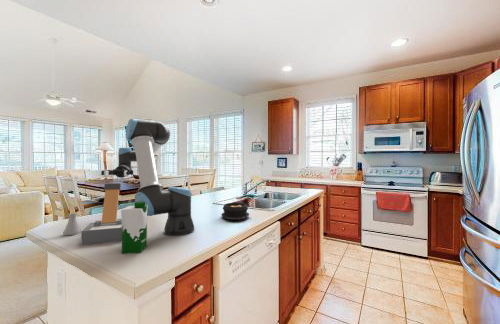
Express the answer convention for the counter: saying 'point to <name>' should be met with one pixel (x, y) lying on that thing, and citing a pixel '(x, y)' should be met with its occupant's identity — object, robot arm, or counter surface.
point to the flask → (72, 225)
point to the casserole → (235, 211)
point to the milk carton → (134, 228)
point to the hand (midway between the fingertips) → (114, 173)
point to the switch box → (102, 232)
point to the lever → (110, 203)
